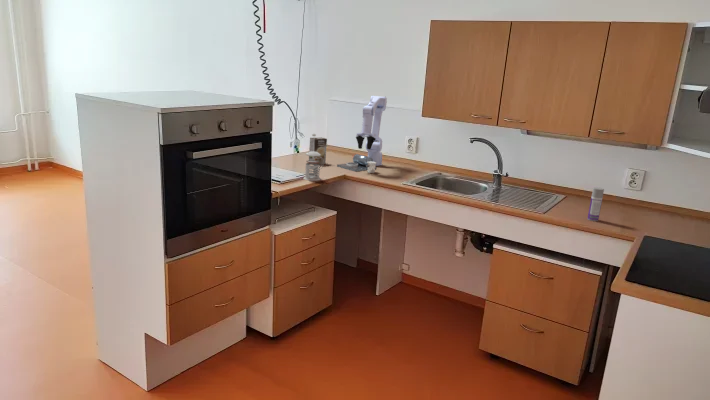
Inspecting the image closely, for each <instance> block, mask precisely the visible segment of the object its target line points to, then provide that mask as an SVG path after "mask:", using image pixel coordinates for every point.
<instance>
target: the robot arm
mask: <svg viewBox="0 0 710 400" xmlns="http://www.w3.org/2000/svg"><path fill="white" fill-rule="evenodd" d="M387 99H388V98H387V97H386V96H380V95H371V96H370V100H369V102H368V104H367V105H364V106H363V108H362V124H361V125H362V126H361V132H356V136H355V138H356V143H357V147H358V149H360V150H362V149H363V144H364V140H365V139H366V142H365V150H366V151H367V157H371V158H372V159H373V162H376V164H375V167H378V166H383V153H382V152H381V151H382V149H383V139H382V138H381V137H380V129H381V122H382V116H383V112H384V111H386V108H387V102H388V101H387Z"/></svg>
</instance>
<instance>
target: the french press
mask: <svg viewBox="0 0 710 400" xmlns="http://www.w3.org/2000/svg"><path fill="white" fill-rule="evenodd" d="M311 135H312V137H316V136H317V134H316V133H313V134H311ZM320 155H321V154H319V153H318V152H314V145H313V151H311V152H306V153H305V156H308V157H309V156H318V157H320ZM320 158H322V157H320ZM320 158H318V159H320ZM322 159H323V158H322ZM322 159H321V160H322ZM317 163H319V161H315V160H309V159H307V160H306V163H305V176H304V177H303V180H306V181H313V182H315V181H316V182H317V181H321V177H320V170H321V169H323V166H324V160H323V164H317Z"/></svg>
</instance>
